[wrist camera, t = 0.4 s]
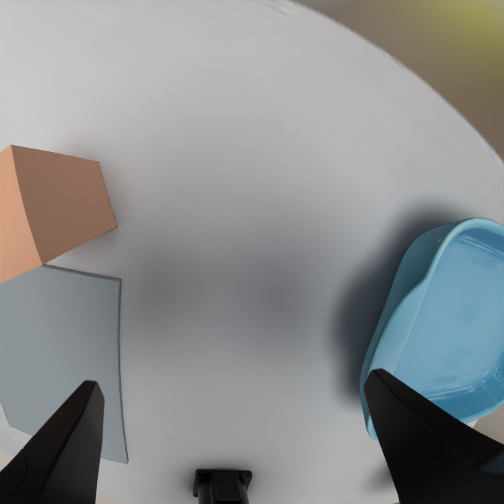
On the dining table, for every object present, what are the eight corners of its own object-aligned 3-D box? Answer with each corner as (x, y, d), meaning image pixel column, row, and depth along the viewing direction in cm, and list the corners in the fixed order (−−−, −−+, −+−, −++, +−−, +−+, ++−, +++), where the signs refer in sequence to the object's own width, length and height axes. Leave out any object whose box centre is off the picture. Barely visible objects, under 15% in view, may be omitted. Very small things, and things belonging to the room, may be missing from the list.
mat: (128, 460, 25) (127, 463, 24) (11, 423, 22) (9, 425, 21) (120, 279, 21) (118, 281, 20) (-26, 247, 18) (-30, 249, 17)
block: (117, 226, 20) (42, 264, 9) (63, 247, 19) (-25, 295, 9) (98, 161, 18) (11, 144, 8) (45, 187, 18) (-53, 195, 7)
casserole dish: (536, 260, 30) (567, 271, 23) (488, 385, 33) (513, 405, 26) (372, 179, 22) (429, 179, 15) (299, 408, 26) (322, 459, 19)
